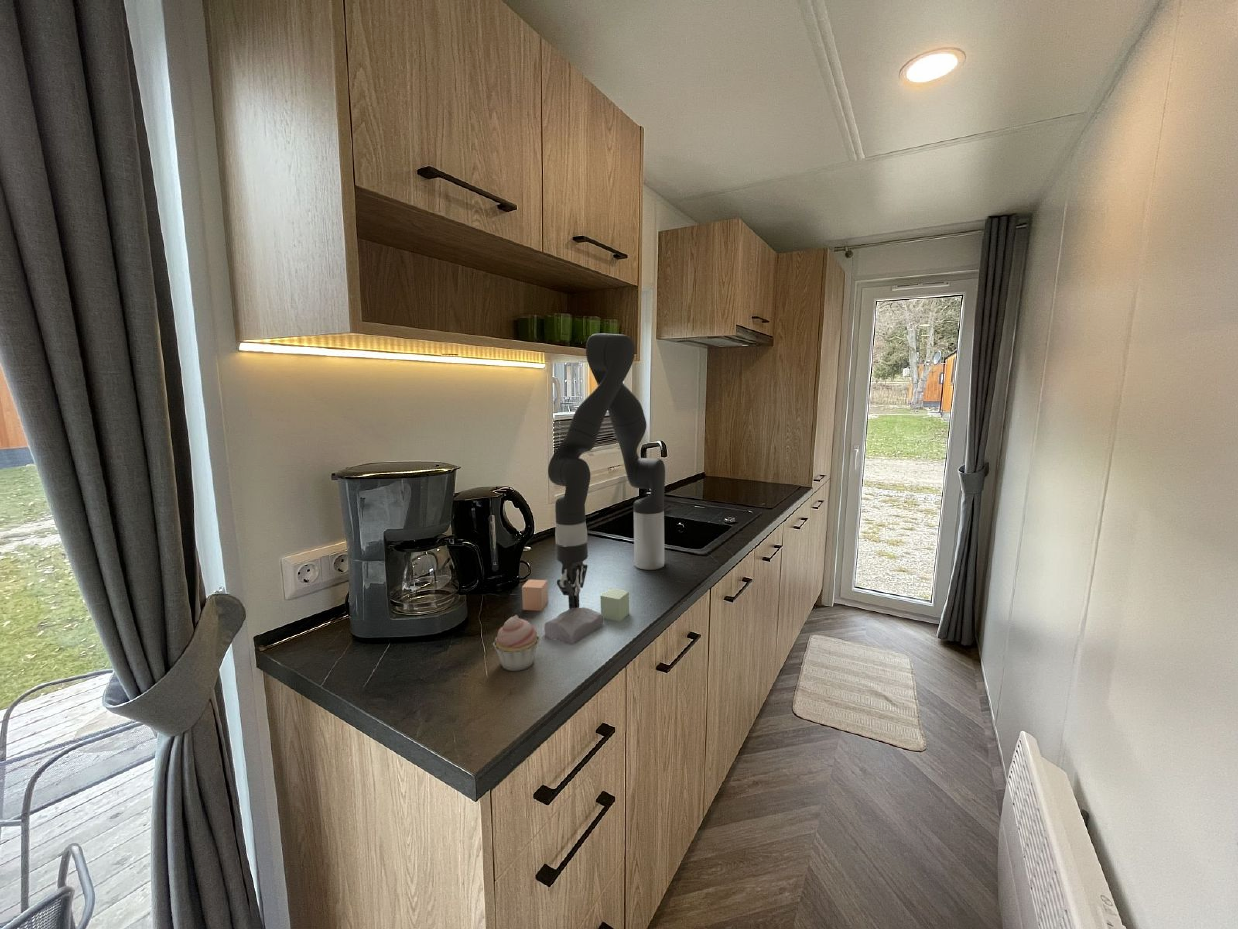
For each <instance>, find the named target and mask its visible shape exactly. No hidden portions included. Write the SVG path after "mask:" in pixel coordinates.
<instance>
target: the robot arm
mask: <svg viewBox="0 0 1238 929" xmlns="http://www.w3.org/2000/svg"><path fill="white" fill-rule="evenodd" d="M635 353H636V349H635V343H634V340H633V339H632V337H630V336H628V335H627V334H622V333H620V334H619V333H606V332H605V333H599V332H598V333H593V334H592V335H591V336H589V337H588V339H587V341H586V345H585V356H586V360H587V361H586V362H587V364H588V366H589V369H590V371H591V373H592V375H593V377H594V379H595V382H596V384H597V386H596V388H595V389H594V390H593V391H592V392H591V393H590V394H589V395H588V396H587V397H585V399H584V400H582V402H580V404H579V406H578V407H577V409H576V410H575V412H574V414H573V417H572V419H571V422H570V425H569V427H568V430H567V433H566V435H565V437H564V439H563V440H562V441H561V443H560V444H559V446H558V447H557V448H556V450H555V452H554V453H553V454H552V456H551V458H550V460H549V463H548V467H547V474H548V478H549V480H550V482H552V483H553V484H554V485H557V486H560V487H564V488H565V491H564V495H563V496H560V497H559V498H557V499H556V501H555V506H554V507H555V510H554V512H555V529H554V531H555V533H554V535H555V553H556V554H555V556H556V560H557V561H558V562H560V563H561V564H562V566H561V569H560V570H561V572H560V573H561V574H562V576H561V578H560V579H557V581H556V585H557V586H558V589H559V590H560V591H561V593H562V595H563V596H567V599H568V610H569V609H572V608H578V607H579V608H580V593H581V589H583V588H584V583H585V579H586V575H587V571H588V568H589V566H588V564H587V563H584V561H586V560H587V559H588V556H589V553H588V552H589V551H588V548H589V547H588V530H587V529H588V528H587V524H586V501H587V497H588V493H589V488H590V484H591V470H590V466H589V464H588V462H587V461H585V460H584V459H582V458H580V457H581V456H582V454H585V453H588V452H590V451H591V450H592V449H594V446H595V443H596V441H597V438H598V436H599V433H600V431H601V430H600V429H601V427H602V424H603V421H604V419H605V416H606V414H607V412H608V415H609V418H610V422H611V425H612V428H613V431H614V434H615V436H616V439H617V442H618V446H619V448H620V452H621V456H622V460H623V464H624V468H625V473H626V477H627V481H628V483H629V484H630V486H631V487H632V488H634V489H644V490H650V493H649V495H648V496H646V497H642V498H639V499H637V500H635V501H634V502H633V507H632V508H633V550H634V551H633V552H634V553H633V554H634V556H633V557H634V559H633V560H634V567H636V568H638V569H642V570H651V571H652V570H658V569H662V568H663V567H664V566H665V511H664V510H665V506H664V505H665V486H666V485H665V483H666V466H665V462H664V461H663V460H662V458H661V459H660V458H650V457H647V458H645V457H640V456H639V455H638V451H637V450H638V448H639V446H640V443H641V441H642V440H643V438H644V435H645V433H646V430H647V419H646V417H645V414H644V409H643V407H642V404H641V402H640V401H639V399H638V398H637V397H636V396H635V394H634V393H633V392H632V391H631V390H630V389H629V388H628V386H626V385H625V383H624V381H625V379H626V377H627V376H628V374H629V372H630V370H631V368H632V366H633V362H634V360H635Z"/></svg>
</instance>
